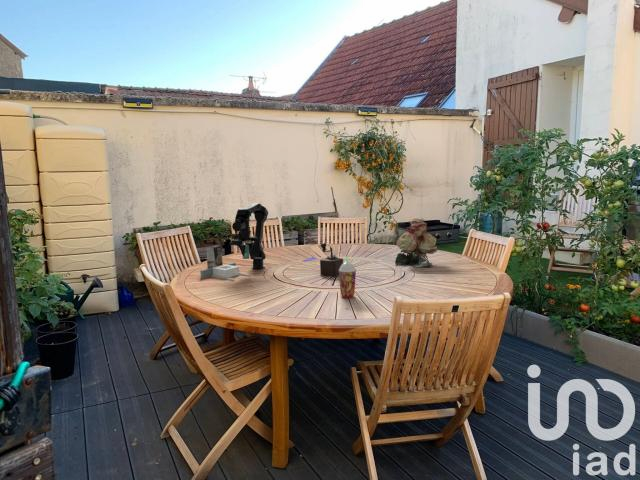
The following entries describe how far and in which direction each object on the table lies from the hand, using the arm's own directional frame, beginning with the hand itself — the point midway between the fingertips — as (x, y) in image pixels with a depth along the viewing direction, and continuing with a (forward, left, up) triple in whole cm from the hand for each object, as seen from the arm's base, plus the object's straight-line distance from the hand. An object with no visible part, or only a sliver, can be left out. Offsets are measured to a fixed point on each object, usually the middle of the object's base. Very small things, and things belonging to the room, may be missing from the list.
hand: (245, 255), depth 264 cm
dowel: (0, 0, -2) cm, 2 cm away
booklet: (-57, +15, -13) cm, 61 cm away
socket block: (+9, -9, -12) cm, 17 cm away
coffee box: (+4, -24, -12) cm, 27 cm away
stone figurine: (-82, +74, -12) cm, 111 cm away
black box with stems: (-28, +41, -12) cm, 51 cm away
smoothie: (+7, +77, -12) cm, 78 cm away
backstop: (+9, -6, -12) cm, 16 cm away
